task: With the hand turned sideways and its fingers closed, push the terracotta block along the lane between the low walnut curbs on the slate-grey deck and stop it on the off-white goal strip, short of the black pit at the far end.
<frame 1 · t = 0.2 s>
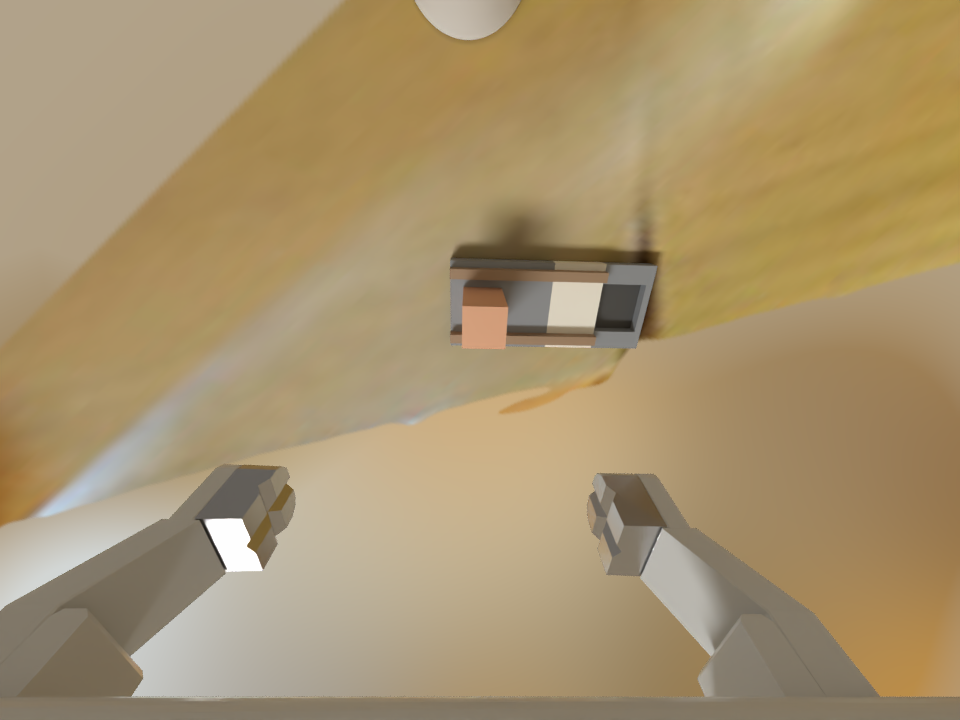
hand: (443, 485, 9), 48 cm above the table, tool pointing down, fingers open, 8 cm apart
block: (481, 305, 54), point 2 cm above the table, touching deck
deck: (541, 303, 56), on the table
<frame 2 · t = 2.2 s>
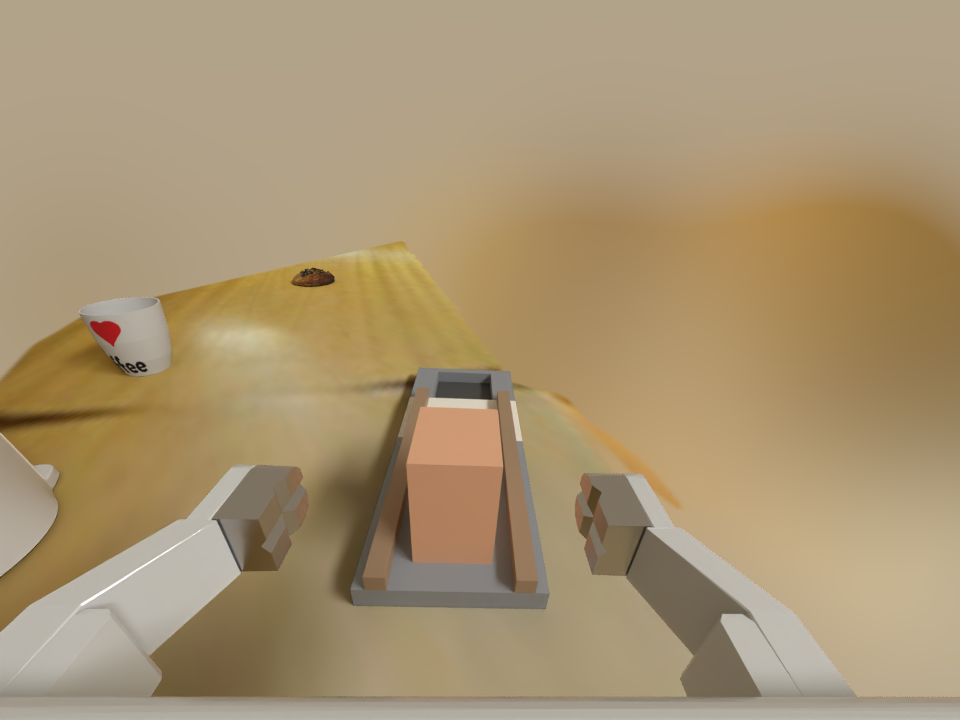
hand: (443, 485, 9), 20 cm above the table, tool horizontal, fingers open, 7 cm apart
bread roll: (314, 283, 98), on the table
cup: (150, 369, 52), on the table
block: (454, 527, 28), point 2 cm above the table, touching deck
deck: (459, 458, 38), on the table
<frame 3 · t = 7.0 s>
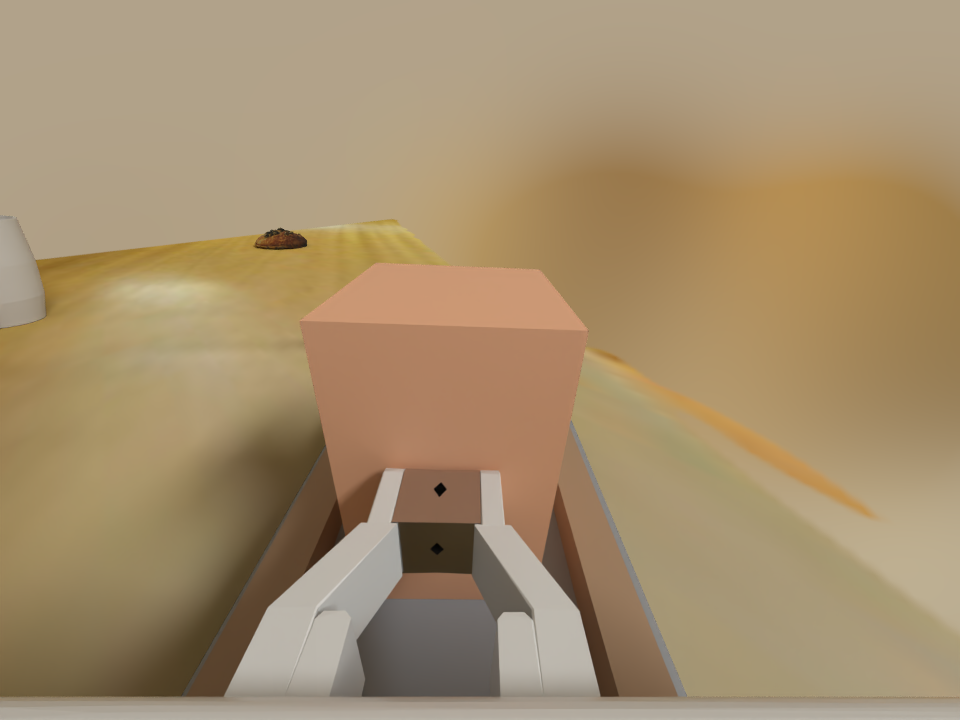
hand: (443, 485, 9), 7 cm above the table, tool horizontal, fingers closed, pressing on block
bread roll: (282, 247, 82), on the table
cup: (11, 322, 36), on the table
block: (452, 521, 14), point 2 cm above the table, touching gripper
deck: (458, 436, 22), on the table
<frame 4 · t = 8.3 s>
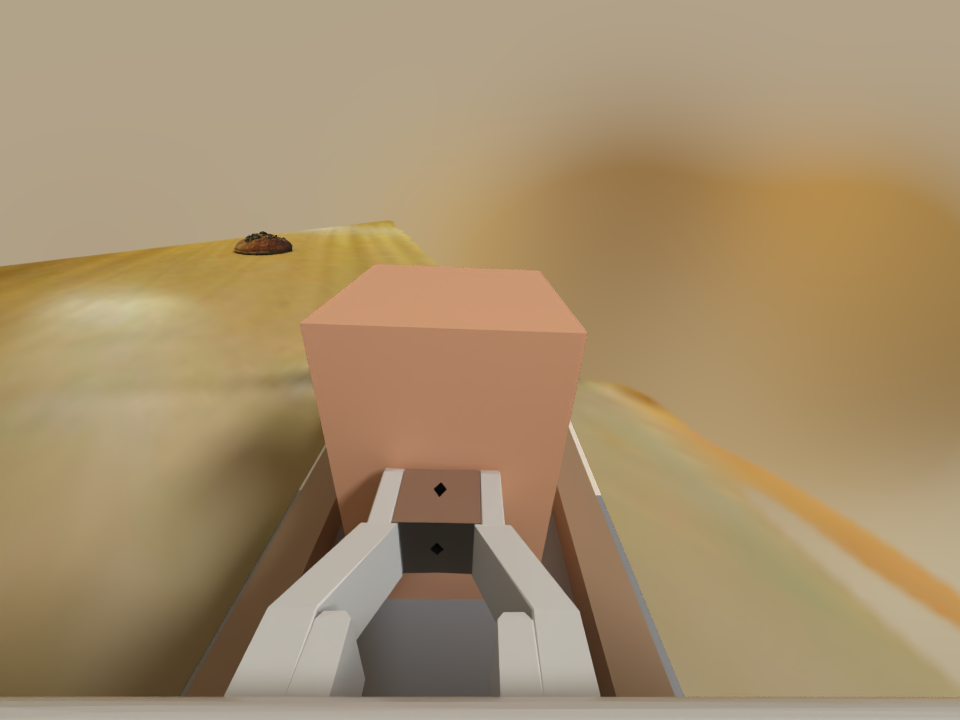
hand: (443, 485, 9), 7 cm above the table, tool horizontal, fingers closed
bread roll: (265, 253, 75), on the table
block: (451, 522, 14), point 2 cm above the table, touching deck
deck: (450, 540, 16), on the table
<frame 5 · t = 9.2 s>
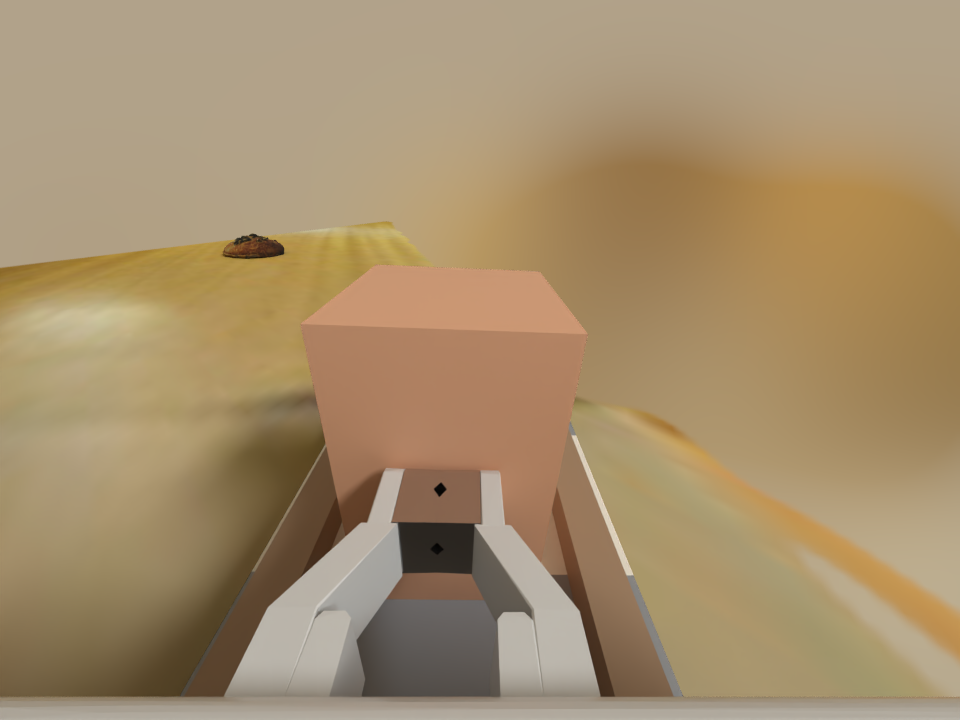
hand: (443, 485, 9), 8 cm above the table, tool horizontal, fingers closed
bread roll: (256, 256, 72), on the table
block: (451, 522, 14), point 2 cm above the table
deck: (444, 633, 12), on the table
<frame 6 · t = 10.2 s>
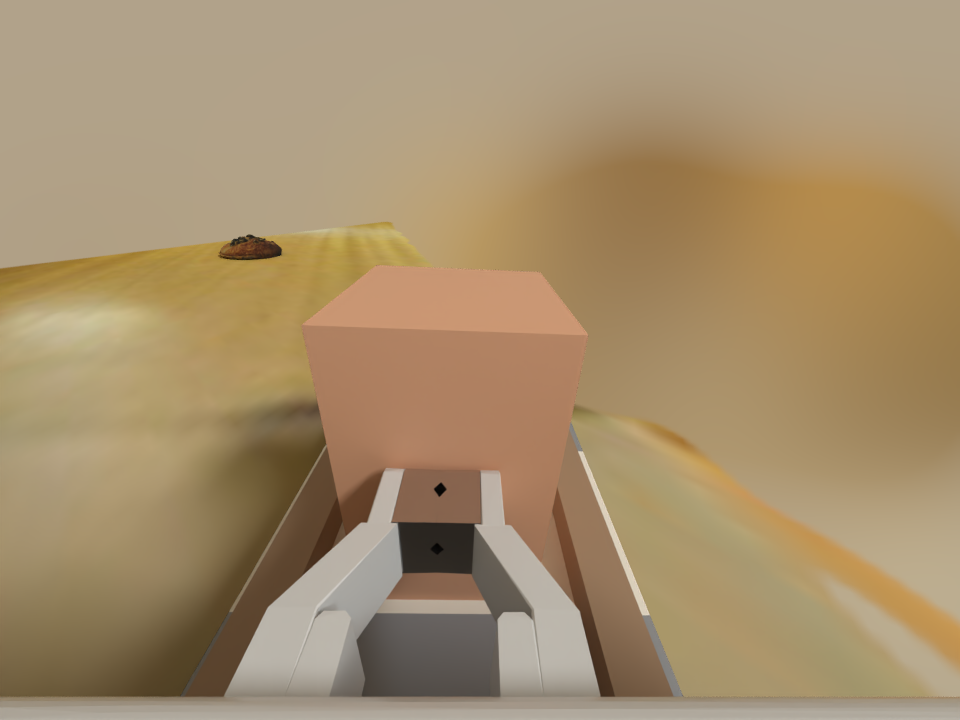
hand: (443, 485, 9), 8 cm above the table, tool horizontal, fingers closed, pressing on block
bread roll: (252, 257, 71), on the table
block: (452, 522, 14), point 2 cm above the table, touching deck, gripper
deck: (441, 680, 11), on the table
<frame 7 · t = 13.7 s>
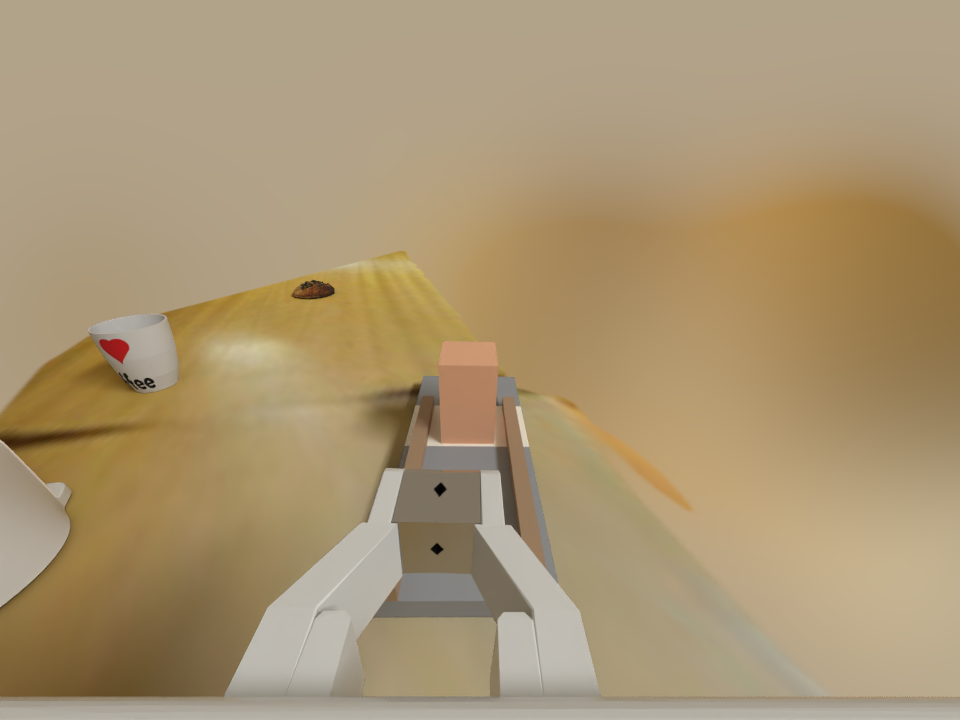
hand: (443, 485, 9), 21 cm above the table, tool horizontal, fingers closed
bread roll: (314, 295, 98), on the table
cup: (158, 385, 52), on the table
block: (468, 427, 41), point 2 cm above the table, touching deck
deck: (466, 466, 38), on the table
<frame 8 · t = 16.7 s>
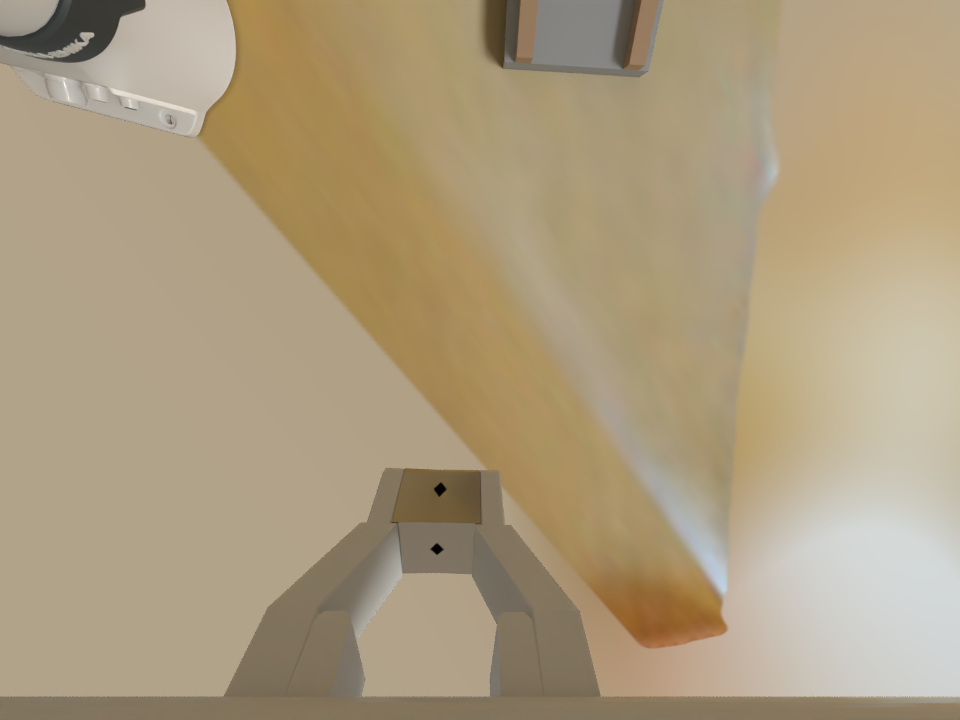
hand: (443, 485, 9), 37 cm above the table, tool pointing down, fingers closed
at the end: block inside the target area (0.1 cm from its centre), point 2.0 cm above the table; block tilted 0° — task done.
